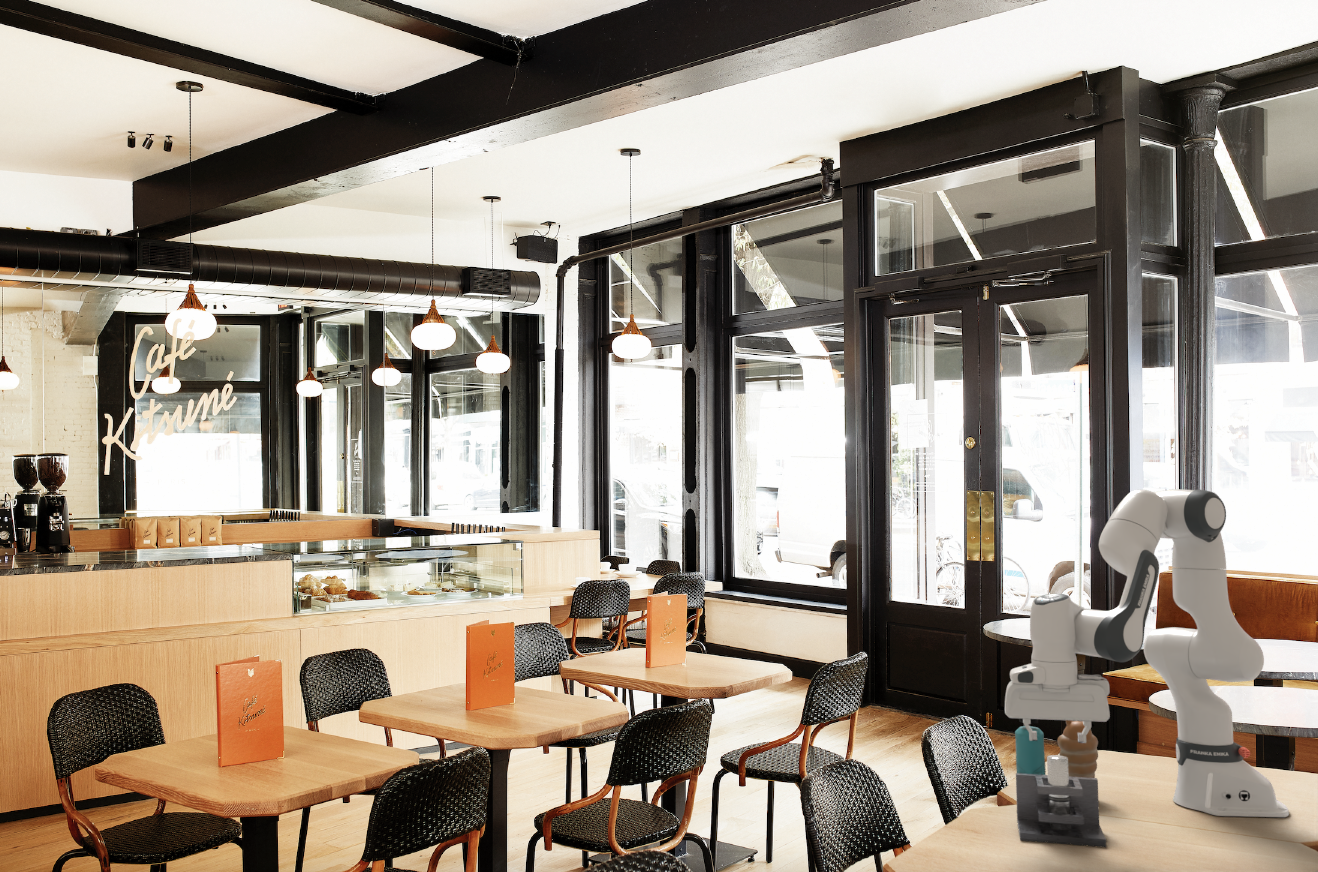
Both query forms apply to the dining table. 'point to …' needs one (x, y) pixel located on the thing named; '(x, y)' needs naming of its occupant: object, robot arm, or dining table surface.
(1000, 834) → the dining table surface
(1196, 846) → the dining table surface
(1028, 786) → the collar stand
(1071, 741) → the cat ice cream
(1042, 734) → the beverage bottle
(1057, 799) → the grey cylinder
